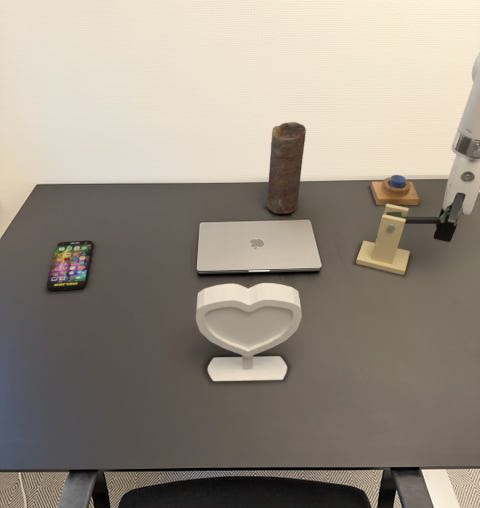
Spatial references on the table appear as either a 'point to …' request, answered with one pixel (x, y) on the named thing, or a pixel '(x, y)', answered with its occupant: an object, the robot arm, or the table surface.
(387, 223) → the switch bracket
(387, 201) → the button block
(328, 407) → the table surface
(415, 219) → the lever
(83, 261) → the smartphone
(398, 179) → the button
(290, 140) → the rusty metal cylinder
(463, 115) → the robot arm
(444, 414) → the table surface
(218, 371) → the heart sculpture
